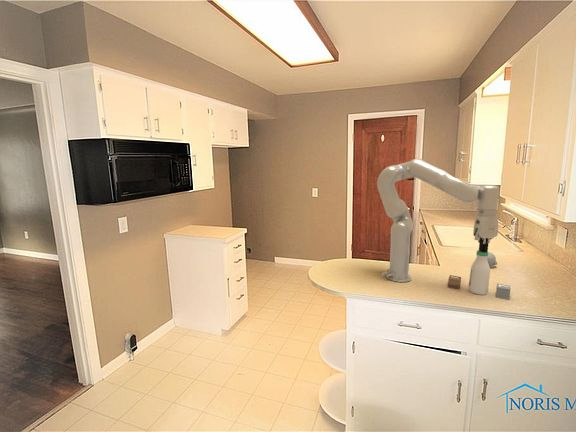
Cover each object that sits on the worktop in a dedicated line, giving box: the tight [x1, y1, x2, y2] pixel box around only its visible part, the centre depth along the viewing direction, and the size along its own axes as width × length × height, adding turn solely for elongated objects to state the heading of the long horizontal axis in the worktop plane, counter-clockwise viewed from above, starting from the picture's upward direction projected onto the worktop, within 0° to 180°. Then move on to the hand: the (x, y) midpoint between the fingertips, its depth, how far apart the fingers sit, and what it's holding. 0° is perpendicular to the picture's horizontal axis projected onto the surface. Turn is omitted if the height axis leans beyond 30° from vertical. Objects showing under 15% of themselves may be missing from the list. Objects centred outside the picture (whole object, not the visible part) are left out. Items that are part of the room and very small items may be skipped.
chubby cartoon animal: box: [487, 251, 498, 269], centre depth 173 cm, size 7×12×8 cm, turn 109°
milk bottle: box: [468, 249, 491, 296], centre depth 141 cm, size 8×8×20 cm
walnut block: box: [447, 274, 462, 291], centre depth 148 cm, size 5×5×5 cm
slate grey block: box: [495, 282, 511, 301], centre depth 137 cm, size 5×5×5 cm
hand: (483, 251), depth 139 cm, fingers closed
